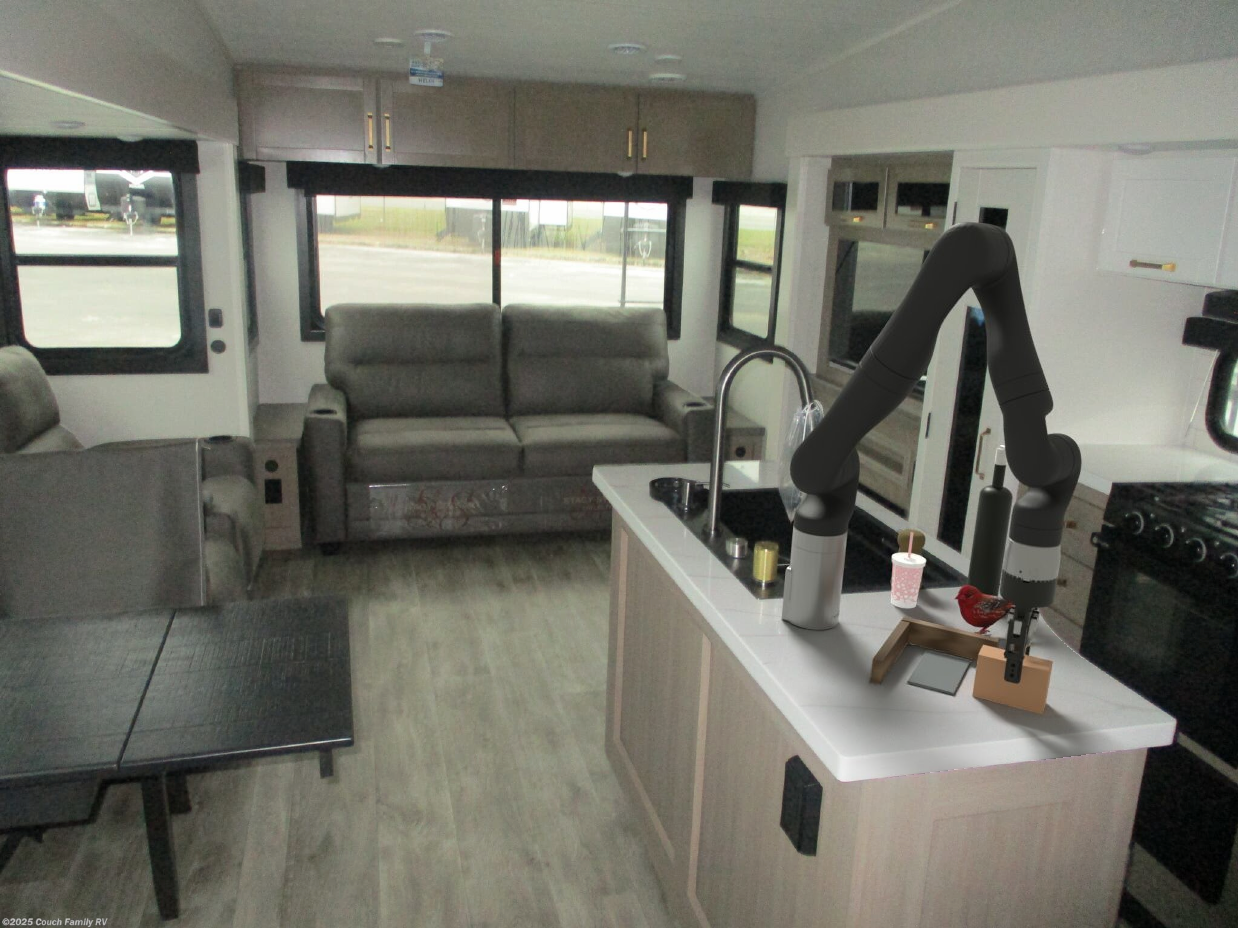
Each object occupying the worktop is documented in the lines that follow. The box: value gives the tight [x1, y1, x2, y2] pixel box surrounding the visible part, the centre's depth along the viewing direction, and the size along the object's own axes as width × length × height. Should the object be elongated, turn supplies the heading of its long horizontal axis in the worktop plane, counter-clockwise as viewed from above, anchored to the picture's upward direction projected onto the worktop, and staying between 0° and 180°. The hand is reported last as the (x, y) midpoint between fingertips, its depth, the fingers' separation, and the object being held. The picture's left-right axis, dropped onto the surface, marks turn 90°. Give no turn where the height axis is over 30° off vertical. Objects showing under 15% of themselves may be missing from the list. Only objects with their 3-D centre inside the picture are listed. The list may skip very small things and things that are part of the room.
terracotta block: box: [971, 645, 1054, 715], centre depth 148 cm, size 10×4×7 cm, turn 60°
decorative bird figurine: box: [954, 584, 1015, 635], centre depth 170 cm, size 3×18×10 cm, turn 114°
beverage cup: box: [890, 532, 927, 609], centre depth 181 cm, size 6×6×14 cm
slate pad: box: [907, 649, 971, 696], centre depth 157 cm, size 7×13×1 cm, turn 150°
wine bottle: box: [966, 444, 1013, 597], centre depth 183 cm, size 6×6×30 cm
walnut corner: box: [869, 616, 1000, 685], centre depth 156 cm, size 16×19×4 cm
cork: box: [889, 528, 927, 590], centre depth 191 cm, size 6×6×11 cm
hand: (1016, 670), depth 147 cm, fingers open, 8 cm apart
